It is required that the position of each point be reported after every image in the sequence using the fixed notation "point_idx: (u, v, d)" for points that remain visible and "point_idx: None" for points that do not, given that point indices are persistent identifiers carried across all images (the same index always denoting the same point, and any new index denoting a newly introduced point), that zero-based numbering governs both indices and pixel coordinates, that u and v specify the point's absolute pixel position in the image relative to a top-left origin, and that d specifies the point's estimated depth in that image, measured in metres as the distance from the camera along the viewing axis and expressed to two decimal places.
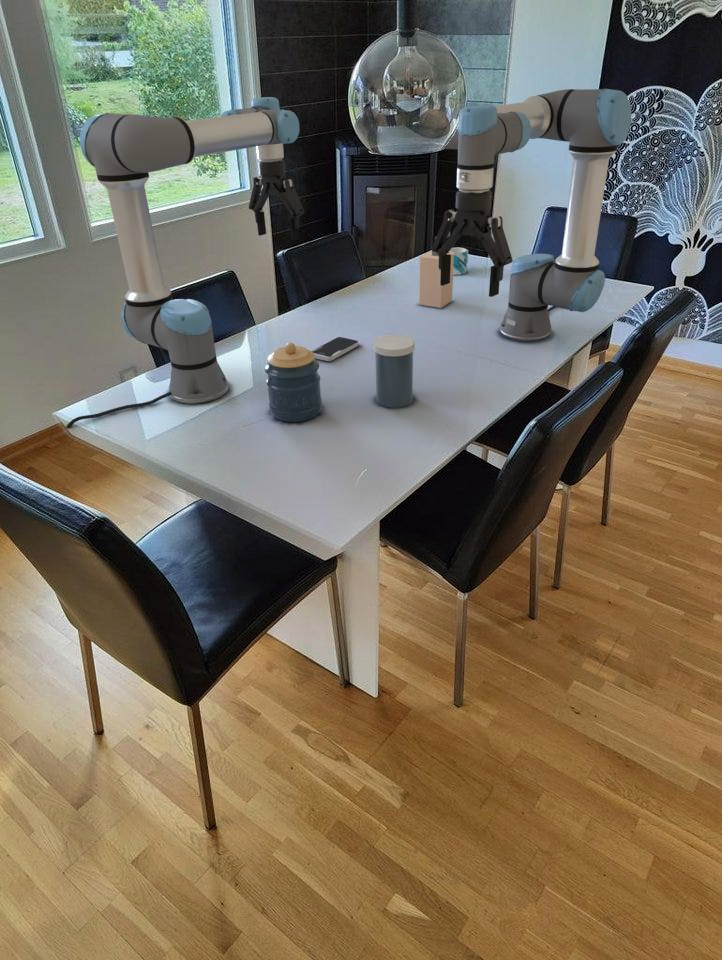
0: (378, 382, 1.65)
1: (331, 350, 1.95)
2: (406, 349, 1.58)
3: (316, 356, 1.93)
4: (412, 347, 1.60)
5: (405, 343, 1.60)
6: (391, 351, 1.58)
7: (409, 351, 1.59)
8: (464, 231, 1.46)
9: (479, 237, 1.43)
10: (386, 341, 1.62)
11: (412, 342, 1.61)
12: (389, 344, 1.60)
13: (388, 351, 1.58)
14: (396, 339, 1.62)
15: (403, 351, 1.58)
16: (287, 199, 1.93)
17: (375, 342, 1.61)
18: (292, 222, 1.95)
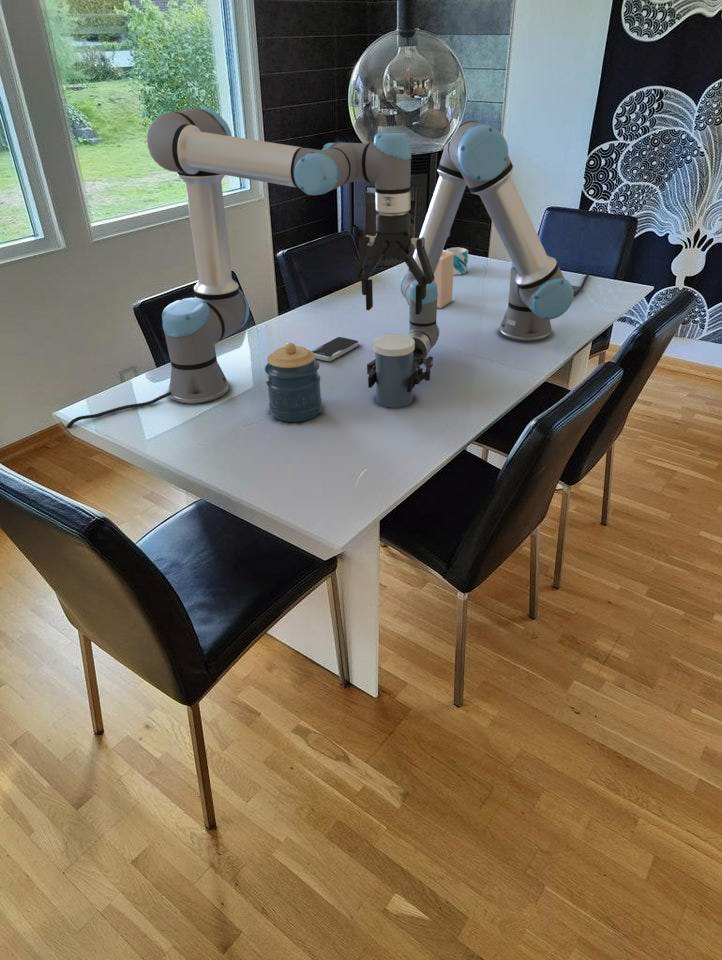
0: (378, 381, 1.65)
1: (331, 350, 1.95)
2: (406, 349, 1.58)
3: (316, 356, 1.93)
4: (412, 347, 1.60)
5: (405, 343, 1.60)
6: (391, 351, 1.58)
7: (409, 351, 1.59)
8: None
9: None
10: (386, 341, 1.62)
11: (412, 342, 1.61)
12: (389, 344, 1.60)
13: (388, 351, 1.58)
14: (396, 339, 1.62)
15: (403, 351, 1.58)
16: None
17: (375, 342, 1.61)
18: None
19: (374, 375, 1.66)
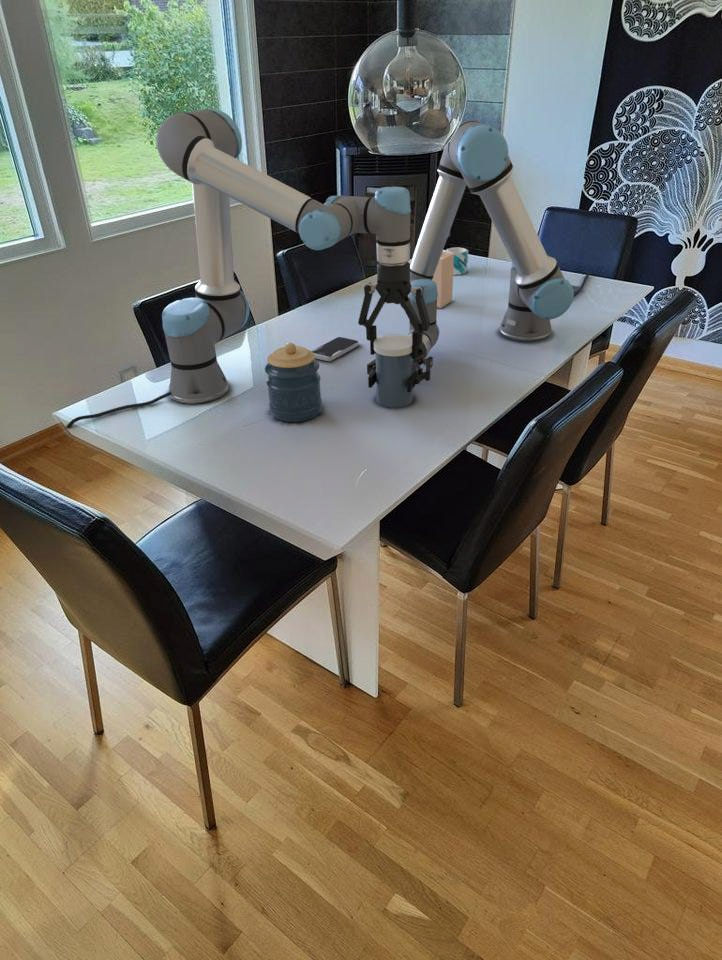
0: (378, 381, 1.65)
1: (331, 350, 1.95)
2: (406, 349, 1.58)
3: (316, 356, 1.93)
4: None
5: (405, 343, 1.60)
6: (391, 351, 1.58)
7: (410, 351, 1.59)
8: None
9: None
10: (386, 341, 1.62)
11: None
12: (389, 344, 1.60)
13: (388, 351, 1.58)
14: (396, 339, 1.62)
15: (403, 351, 1.58)
16: None
17: (375, 342, 1.61)
18: None
19: (374, 375, 1.66)
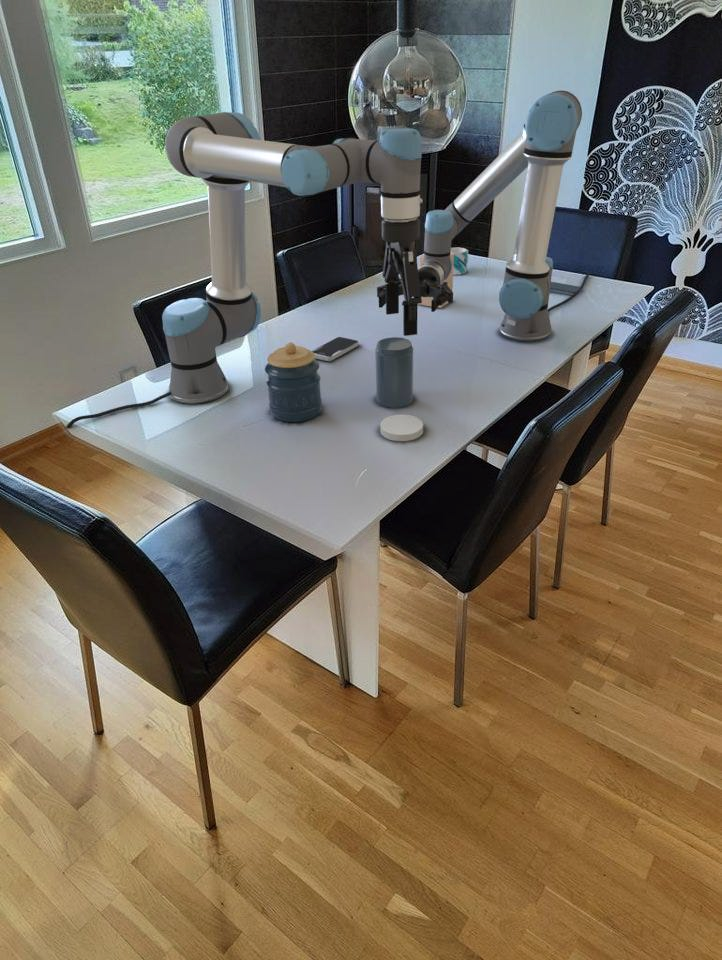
0: (378, 382, 1.65)
1: (331, 350, 1.95)
2: (418, 432, 1.52)
3: (316, 356, 1.93)
4: (422, 429, 1.54)
5: (414, 425, 1.54)
6: (403, 436, 1.51)
7: (420, 434, 1.53)
8: None
9: None
10: (393, 425, 1.55)
11: (420, 423, 1.55)
12: (398, 428, 1.53)
13: (400, 436, 1.51)
14: (403, 421, 1.56)
15: (415, 435, 1.52)
16: None
17: (383, 427, 1.54)
18: (405, 311, 1.33)
19: (384, 296, 1.70)
